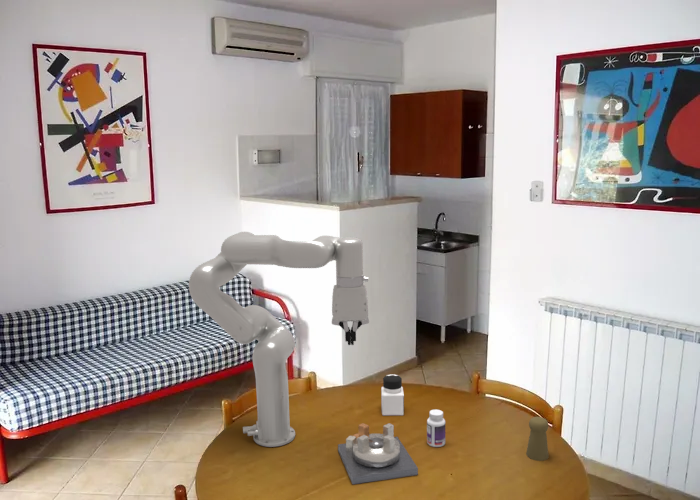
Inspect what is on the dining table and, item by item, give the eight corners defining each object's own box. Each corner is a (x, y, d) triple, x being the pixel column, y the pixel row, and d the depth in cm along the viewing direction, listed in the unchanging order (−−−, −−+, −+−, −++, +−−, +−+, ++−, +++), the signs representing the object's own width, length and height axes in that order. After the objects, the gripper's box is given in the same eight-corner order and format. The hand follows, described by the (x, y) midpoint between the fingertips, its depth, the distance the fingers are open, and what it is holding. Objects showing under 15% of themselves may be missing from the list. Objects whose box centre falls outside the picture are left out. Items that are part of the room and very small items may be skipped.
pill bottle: (447, 440, 180) (447, 410, 178) (442, 449, 175) (442, 417, 173) (430, 437, 182) (430, 407, 180) (424, 445, 177) (424, 414, 175)
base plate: (352, 484, 158) (352, 464, 157) (338, 450, 175) (337, 432, 174) (417, 474, 162) (417, 455, 161) (397, 442, 179) (397, 425, 178)
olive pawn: (548, 451, 172) (550, 415, 170) (548, 462, 167) (550, 425, 165) (526, 448, 174) (528, 412, 172) (525, 458, 169) (527, 422, 167)
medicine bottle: (404, 415, 197) (404, 380, 194) (382, 415, 197) (381, 380, 195) (402, 406, 204) (402, 372, 201) (381, 406, 204) (381, 372, 202)
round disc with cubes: (409, 454, 168) (409, 431, 166) (376, 472, 159) (376, 448, 158) (371, 436, 178) (370, 414, 177) (338, 451, 170) (337, 428, 169)
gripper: (374, 277, 174) (375, 338, 177) (322, 279, 173) (324, 340, 177) (377, 283, 167) (377, 347, 170) (323, 285, 166) (324, 348, 169)
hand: (350, 343), depth 173 cm, fingers closed
